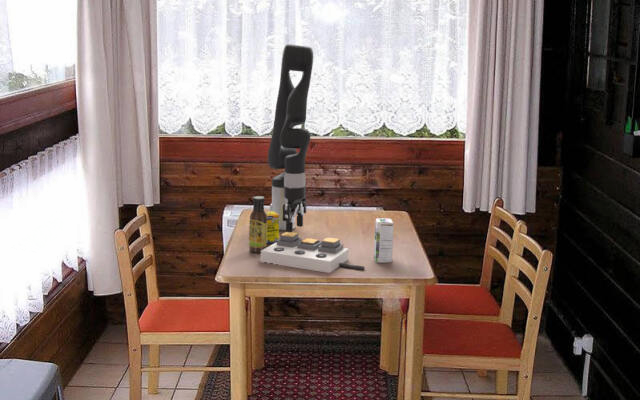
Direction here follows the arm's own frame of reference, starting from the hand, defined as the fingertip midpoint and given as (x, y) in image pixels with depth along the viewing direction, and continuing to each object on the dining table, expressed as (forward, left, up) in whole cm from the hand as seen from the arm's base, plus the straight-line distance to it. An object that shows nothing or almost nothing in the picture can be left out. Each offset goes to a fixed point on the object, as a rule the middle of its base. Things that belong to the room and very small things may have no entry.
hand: (294, 229), depth 284 cm
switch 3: (+16, -4, -3) cm, 17 cm away
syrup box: (+32, +5, -9) cm, 33 cm away
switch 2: (+8, -4, -4) cm, 10 cm away
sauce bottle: (-12, -5, -9) cm, 16 cm away
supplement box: (-14, +7, -9) cm, 18 cm away
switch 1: (0, -4, -3) cm, 5 cm away
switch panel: (+12, -8, -8) cm, 17 cm away
